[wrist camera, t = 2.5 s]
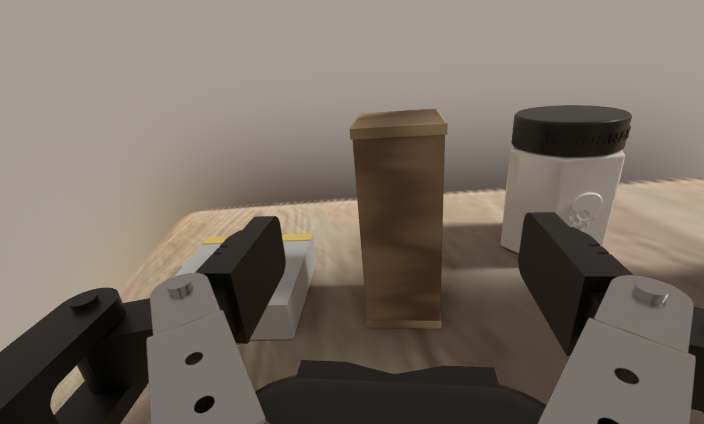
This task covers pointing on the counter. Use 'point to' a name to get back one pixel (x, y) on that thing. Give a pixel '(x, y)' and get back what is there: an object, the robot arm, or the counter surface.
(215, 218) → the counter surface
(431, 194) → the tall brown wooden box
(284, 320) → the notepad
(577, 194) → the jar
